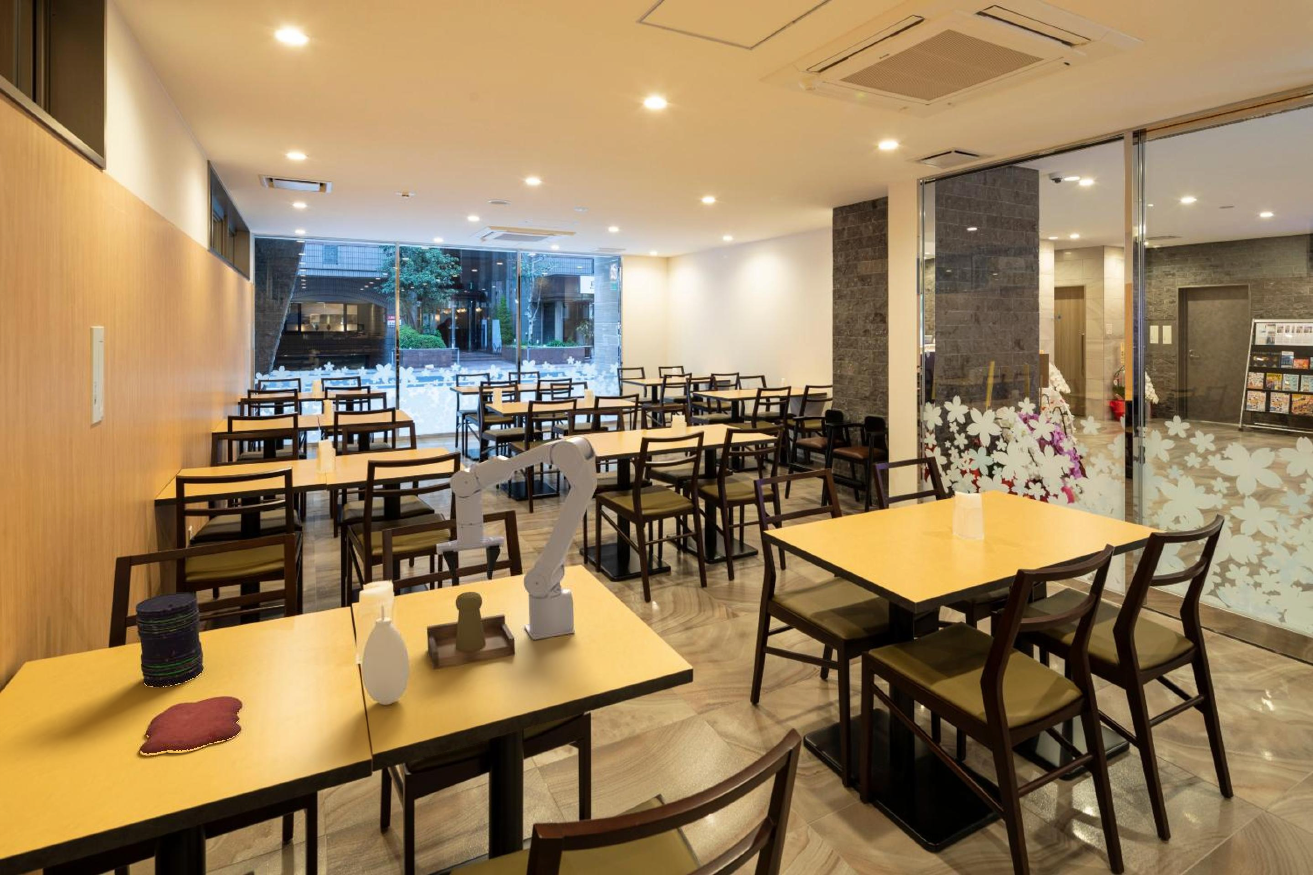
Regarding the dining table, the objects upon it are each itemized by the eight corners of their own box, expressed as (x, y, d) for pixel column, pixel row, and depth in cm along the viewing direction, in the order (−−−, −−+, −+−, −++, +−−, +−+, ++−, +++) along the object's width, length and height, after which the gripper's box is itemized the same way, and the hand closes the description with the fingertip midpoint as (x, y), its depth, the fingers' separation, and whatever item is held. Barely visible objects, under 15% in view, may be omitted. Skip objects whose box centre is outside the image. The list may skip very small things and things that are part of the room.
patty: (240, 742, 114) (239, 731, 114) (135, 767, 108) (133, 755, 107) (245, 695, 129) (244, 685, 129) (153, 714, 123) (151, 703, 123)
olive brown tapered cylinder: (491, 641, 146) (489, 590, 145) (474, 653, 141) (472, 600, 139) (467, 637, 148) (465, 587, 147) (449, 649, 143) (446, 596, 141)
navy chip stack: (137, 676, 136) (129, 601, 134) (196, 659, 143) (189, 588, 141) (149, 693, 129) (141, 615, 127) (211, 675, 137) (204, 600, 135)
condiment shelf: (504, 636, 154) (503, 614, 153) (514, 654, 145) (514, 630, 144) (428, 649, 148) (426, 626, 147) (433, 669, 139) (432, 644, 138)
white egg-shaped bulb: (366, 717, 121) (360, 616, 118) (362, 697, 128) (356, 601, 125) (414, 706, 124) (409, 608, 122) (407, 687, 131) (402, 594, 129)
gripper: (498, 514, 164) (500, 571, 165) (433, 521, 158) (436, 579, 160) (505, 521, 157) (507, 580, 159) (437, 528, 151) (440, 589, 153)
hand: (472, 580), depth 159 cm, fingers open, 7 cm apart
